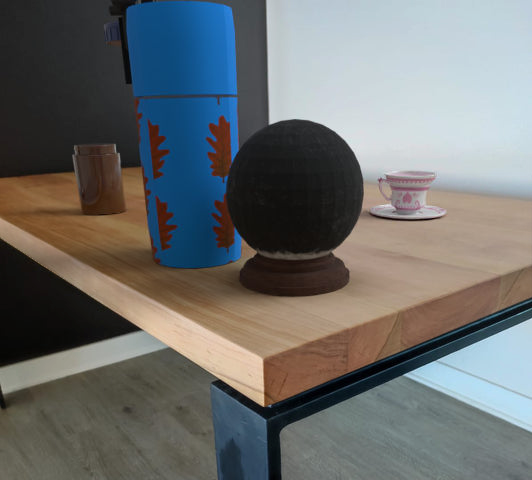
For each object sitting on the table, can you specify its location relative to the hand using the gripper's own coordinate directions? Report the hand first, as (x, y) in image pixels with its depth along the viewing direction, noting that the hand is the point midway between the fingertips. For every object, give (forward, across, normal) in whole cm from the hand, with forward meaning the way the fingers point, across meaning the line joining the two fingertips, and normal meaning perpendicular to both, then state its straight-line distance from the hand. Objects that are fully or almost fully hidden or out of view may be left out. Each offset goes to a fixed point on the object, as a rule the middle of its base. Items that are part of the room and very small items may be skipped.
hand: (145, 85), depth 66 cm
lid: (-6, 0, 0) cm, 6 cm away
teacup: (+19, -15, +37) cm, 44 cm away
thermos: (+19, +10, +6) cm, 22 cm away
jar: (+19, -23, -14) cm, 33 cm away
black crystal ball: (+19, +20, +17) cm, 32 cm away
